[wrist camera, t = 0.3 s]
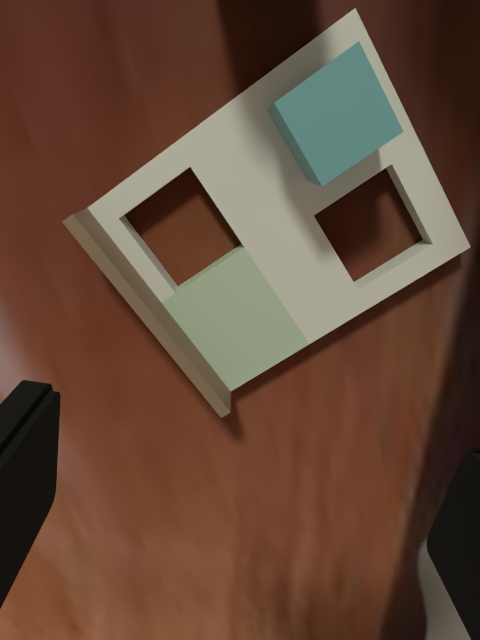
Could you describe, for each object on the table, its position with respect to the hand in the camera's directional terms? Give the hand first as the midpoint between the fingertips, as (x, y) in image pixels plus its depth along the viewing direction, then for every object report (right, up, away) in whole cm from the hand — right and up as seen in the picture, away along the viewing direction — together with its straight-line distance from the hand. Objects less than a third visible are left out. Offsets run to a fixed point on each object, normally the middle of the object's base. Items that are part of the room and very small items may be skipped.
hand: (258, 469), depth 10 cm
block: (+6, +18, +23) cm, 30 cm away
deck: (+3, +11, +28) cm, 30 cm away
